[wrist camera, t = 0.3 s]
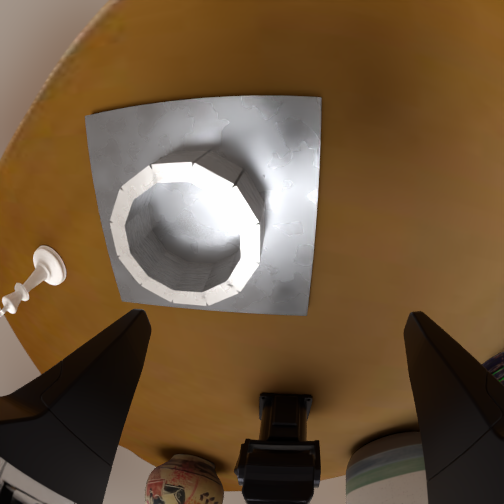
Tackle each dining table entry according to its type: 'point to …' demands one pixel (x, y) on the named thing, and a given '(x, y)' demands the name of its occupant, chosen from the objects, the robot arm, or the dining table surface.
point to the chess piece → (37, 277)
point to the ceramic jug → (184, 482)
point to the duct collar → (210, 200)
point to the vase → (388, 472)
